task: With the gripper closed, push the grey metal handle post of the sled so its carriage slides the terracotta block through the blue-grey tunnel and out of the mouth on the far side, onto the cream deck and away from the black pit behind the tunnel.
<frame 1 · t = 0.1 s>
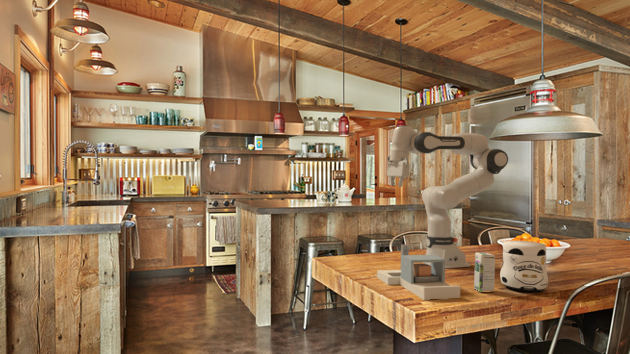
hand: (396, 186, 215), 39 cm above the table, tool pointing down, fingers open, 8 cm apart
deck: (420, 286, 176), on the table
sled: (414, 262, 182), point 9 cm above the table, slide at 0.0 cm
block: (422, 280, 175), point 3 cm above the table, touching deck
tunnel: (422, 287, 175), resting on deck
syrup box: (484, 291, 171), on the table
milk container: (523, 289, 176), on the table
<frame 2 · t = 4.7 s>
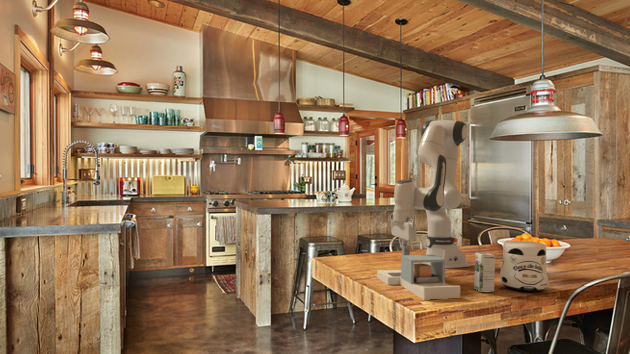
hand: (403, 248, 194), 12 cm above the table, tool pointing down, fingers closed
sled: (415, 262, 181), point 9 cm above the table, slide at 1.1 cm, touching gripper
block: (422, 280, 174), point 3 cm above the table
everything else where it was.
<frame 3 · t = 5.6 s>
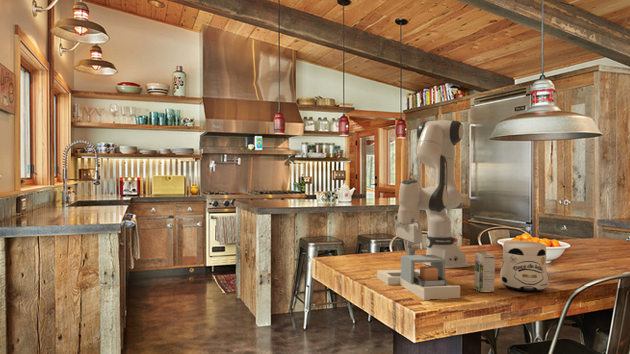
hand: (408, 250, 188), 12 cm above the table, tool pointing down, fingers closed
sled: (421, 265, 176), point 9 cm above the table, slide at 6.3 cm, touching block, gripper
block: (428, 283, 169), point 3 cm above the table, touching deck, sled
everything else where it was.
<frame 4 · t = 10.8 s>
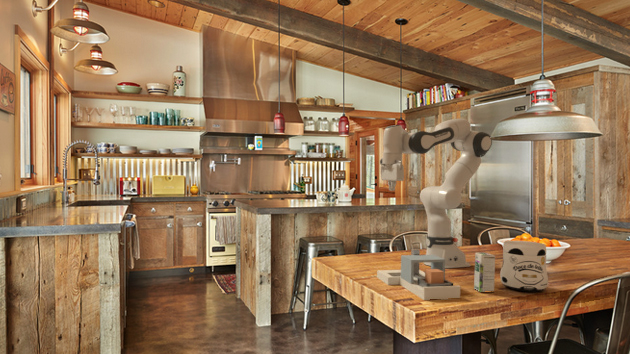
hand: (391, 190, 202), 37 cm above the table, tool pointing down, fingers closed
sled: (426, 267, 171), point 9 cm above the table, slide at 10.8 cm
block: (434, 286, 165), point 3 cm above the table, touching deck
everything else where it was.
at the end: block inside the target area (0.9 cm from its centre), point 3.0 cm above the table; sled slide at 10.8 cm; block tilted 0° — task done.
